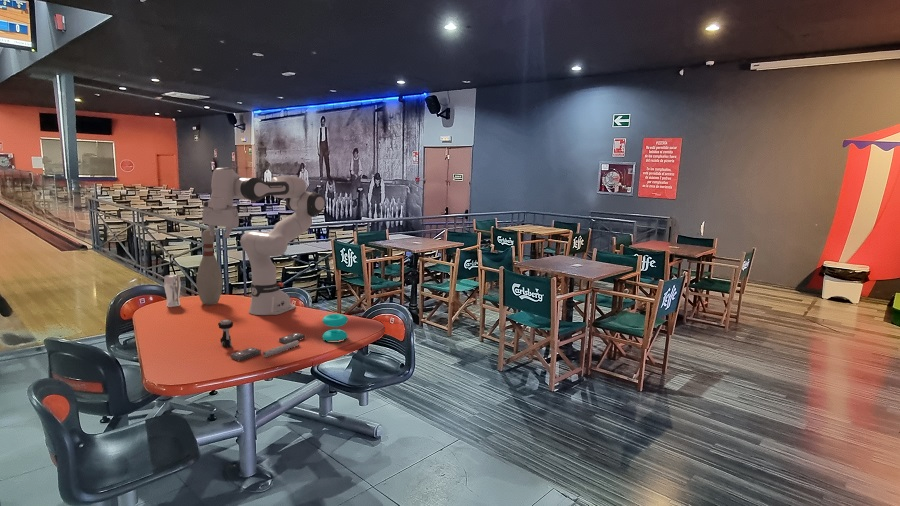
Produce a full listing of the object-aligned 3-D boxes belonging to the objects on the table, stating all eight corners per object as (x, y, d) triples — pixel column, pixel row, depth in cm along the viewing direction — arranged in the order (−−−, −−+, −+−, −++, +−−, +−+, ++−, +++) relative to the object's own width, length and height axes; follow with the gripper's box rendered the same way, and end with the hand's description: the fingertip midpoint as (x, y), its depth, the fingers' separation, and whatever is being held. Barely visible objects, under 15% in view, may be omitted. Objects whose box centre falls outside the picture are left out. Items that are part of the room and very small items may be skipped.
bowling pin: (192, 305, 240) (189, 229, 234) (207, 300, 251) (205, 227, 245) (212, 307, 238) (210, 231, 232) (227, 301, 249) (225, 228, 243)
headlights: (296, 336, 202) (296, 331, 201) (312, 340, 197) (312, 336, 197) (230, 358, 175) (230, 353, 175) (248, 364, 170) (248, 358, 170)
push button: (214, 344, 188) (214, 319, 187) (228, 341, 192) (227, 317, 191) (222, 348, 184) (221, 323, 182) (236, 345, 188) (235, 321, 186)
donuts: (318, 318, 195) (329, 312, 204) (318, 342, 196) (329, 334, 206) (341, 321, 192) (351, 314, 202) (340, 344, 194) (351, 337, 204)
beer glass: (174, 308, 234) (172, 277, 232) (161, 306, 235) (160, 276, 233) (184, 304, 241) (183, 275, 238) (172, 303, 242) (171, 274, 240)
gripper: (243, 206, 206) (241, 239, 207) (213, 203, 216) (211, 234, 217) (230, 205, 200) (228, 238, 201) (200, 202, 210) (198, 234, 211)
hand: (219, 236), depth 209 cm, fingers open, 8 cm apart
